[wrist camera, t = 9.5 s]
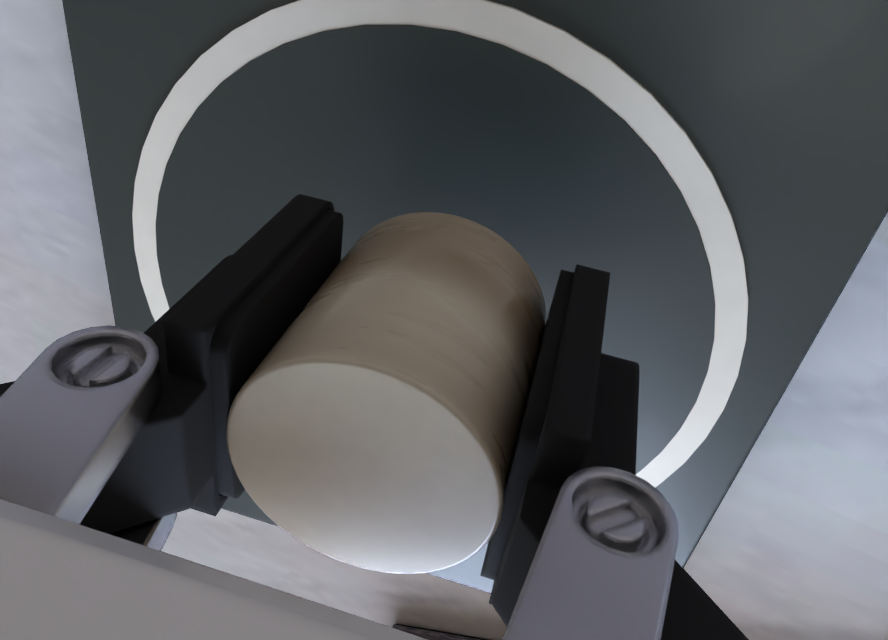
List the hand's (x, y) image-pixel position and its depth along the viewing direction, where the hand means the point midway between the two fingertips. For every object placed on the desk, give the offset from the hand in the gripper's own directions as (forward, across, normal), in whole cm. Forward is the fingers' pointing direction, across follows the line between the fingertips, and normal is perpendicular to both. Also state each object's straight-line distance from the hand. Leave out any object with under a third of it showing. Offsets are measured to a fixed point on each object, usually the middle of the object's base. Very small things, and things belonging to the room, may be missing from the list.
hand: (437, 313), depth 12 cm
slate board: (+4, +1, +3) cm, 5 cm away
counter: (0, 0, 0) cm, 0 cm away
